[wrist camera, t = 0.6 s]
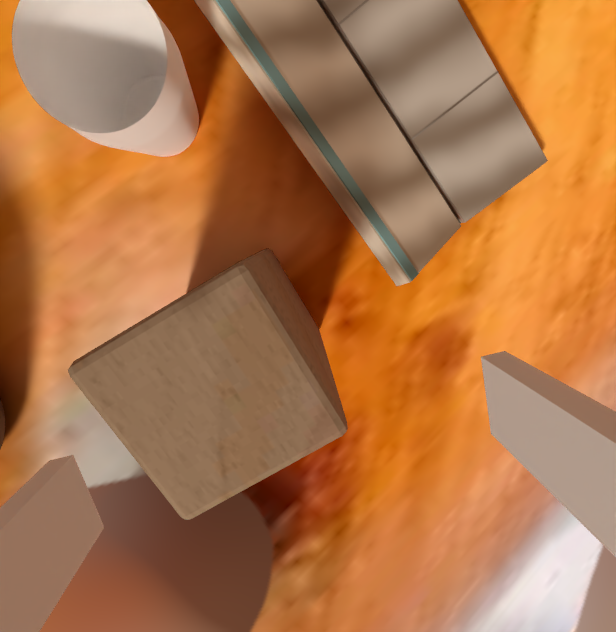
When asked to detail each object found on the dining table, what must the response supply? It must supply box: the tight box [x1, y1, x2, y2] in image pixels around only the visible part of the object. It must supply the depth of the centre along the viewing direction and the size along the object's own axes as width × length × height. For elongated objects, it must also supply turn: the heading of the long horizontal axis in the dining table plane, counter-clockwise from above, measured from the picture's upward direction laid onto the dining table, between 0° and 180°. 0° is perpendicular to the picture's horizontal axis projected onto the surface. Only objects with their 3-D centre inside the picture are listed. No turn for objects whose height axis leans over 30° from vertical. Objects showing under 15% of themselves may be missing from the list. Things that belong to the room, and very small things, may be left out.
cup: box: [12, 0, 199, 157], centre depth 27 cm, size 9×9×12 cm
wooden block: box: [68, 249, 348, 520], centre depth 27 cm, size 10×10×20 cm
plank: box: [194, 0, 461, 286], centre depth 30 cm, size 30×9×2 cm
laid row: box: [317, 0, 548, 223], centre depth 32 cm, size 30×9×2 cm, turn 37°
